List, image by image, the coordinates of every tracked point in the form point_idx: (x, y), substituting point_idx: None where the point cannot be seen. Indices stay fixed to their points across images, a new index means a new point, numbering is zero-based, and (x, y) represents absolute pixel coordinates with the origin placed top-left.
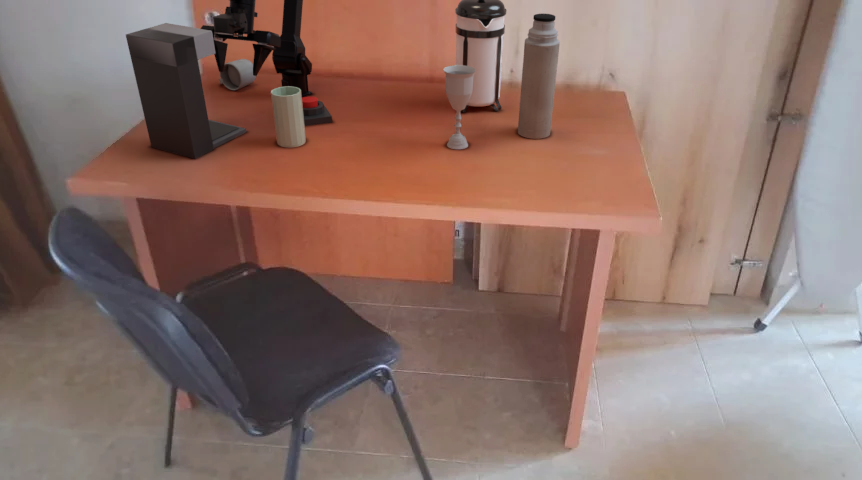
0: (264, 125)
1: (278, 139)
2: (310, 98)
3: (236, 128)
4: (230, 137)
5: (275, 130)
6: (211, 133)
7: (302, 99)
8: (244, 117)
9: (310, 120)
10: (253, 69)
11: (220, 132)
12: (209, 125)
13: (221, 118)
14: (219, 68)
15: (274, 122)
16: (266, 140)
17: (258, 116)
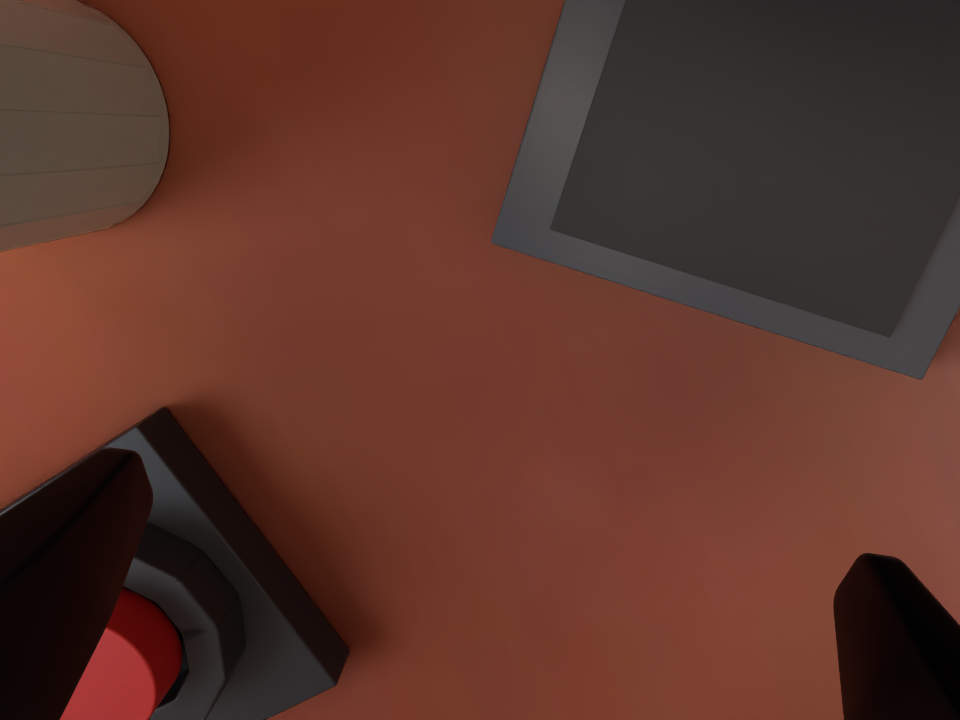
0: (418, 400)
1: (76, 8)
2: (80, 699)
3: (565, 208)
4: (553, 39)
5: (81, 47)
6: (747, 40)
7: (130, 672)
8: (639, 522)
9: (64, 470)
10: (57, 517)
11: (672, 86)
12: (838, 224)
13: (819, 475)
14: (902, 592)
15: (27, 37)
16: (264, 109)
17: (539, 556)
